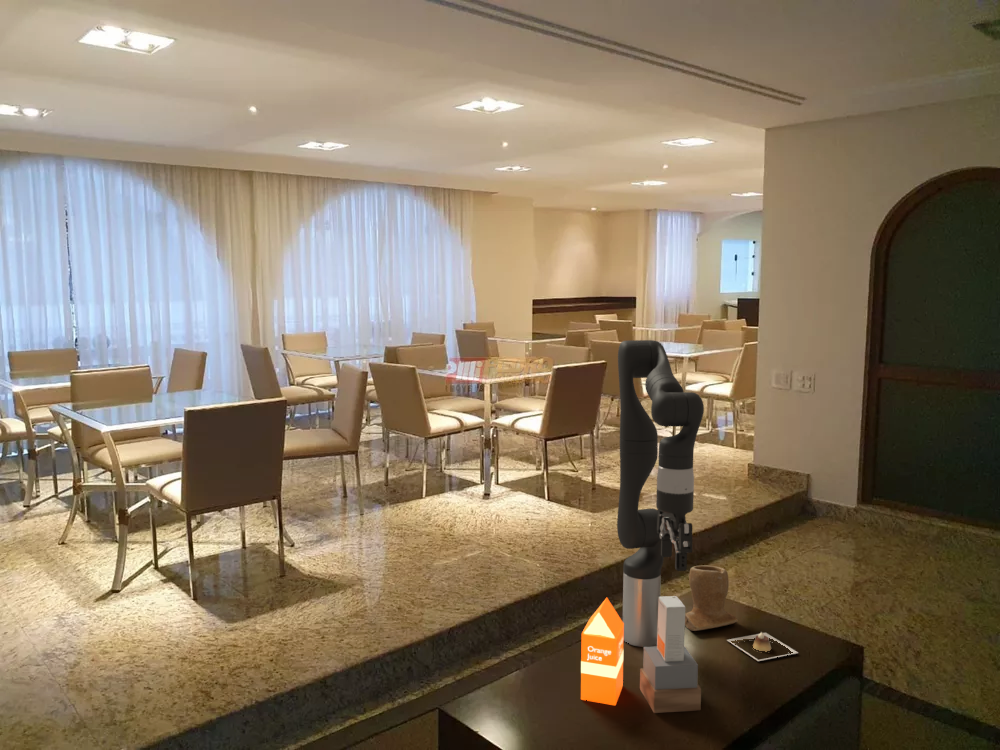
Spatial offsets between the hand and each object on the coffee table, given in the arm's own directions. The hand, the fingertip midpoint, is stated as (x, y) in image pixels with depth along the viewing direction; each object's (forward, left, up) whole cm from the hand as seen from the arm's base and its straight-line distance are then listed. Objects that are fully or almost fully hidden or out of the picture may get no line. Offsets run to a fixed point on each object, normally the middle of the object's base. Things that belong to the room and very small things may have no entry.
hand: (673, 563), depth 160 cm
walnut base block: (0, 0, -30) cm, 30 cm away
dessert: (-20, +31, -31) cm, 48 cm away
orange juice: (-5, -14, -30) cm, 34 cm away
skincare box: (0, 0, -21) cm, 21 cm away
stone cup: (-36, +23, -30) cm, 52 cm away
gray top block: (0, 0, -25) cm, 25 cm away
